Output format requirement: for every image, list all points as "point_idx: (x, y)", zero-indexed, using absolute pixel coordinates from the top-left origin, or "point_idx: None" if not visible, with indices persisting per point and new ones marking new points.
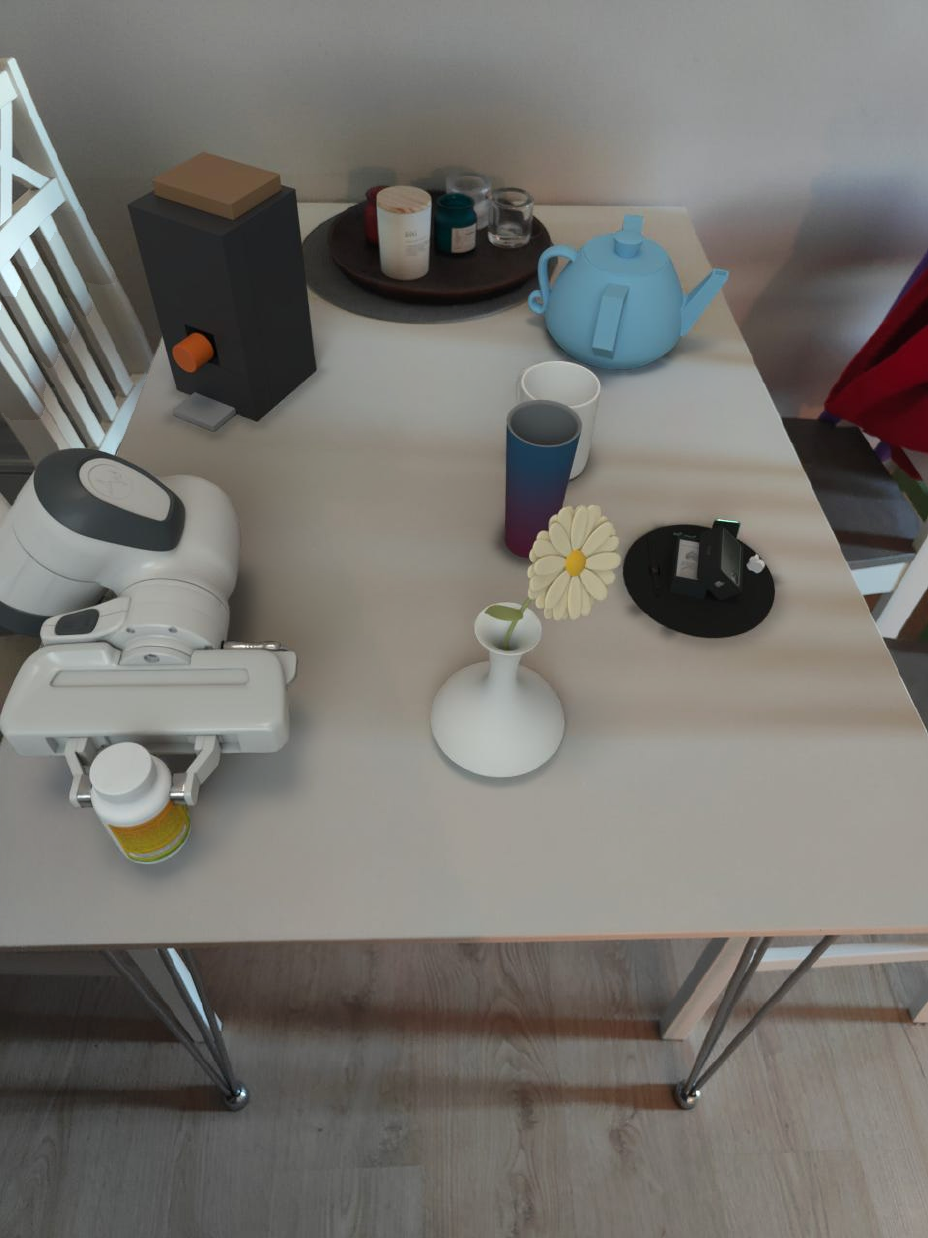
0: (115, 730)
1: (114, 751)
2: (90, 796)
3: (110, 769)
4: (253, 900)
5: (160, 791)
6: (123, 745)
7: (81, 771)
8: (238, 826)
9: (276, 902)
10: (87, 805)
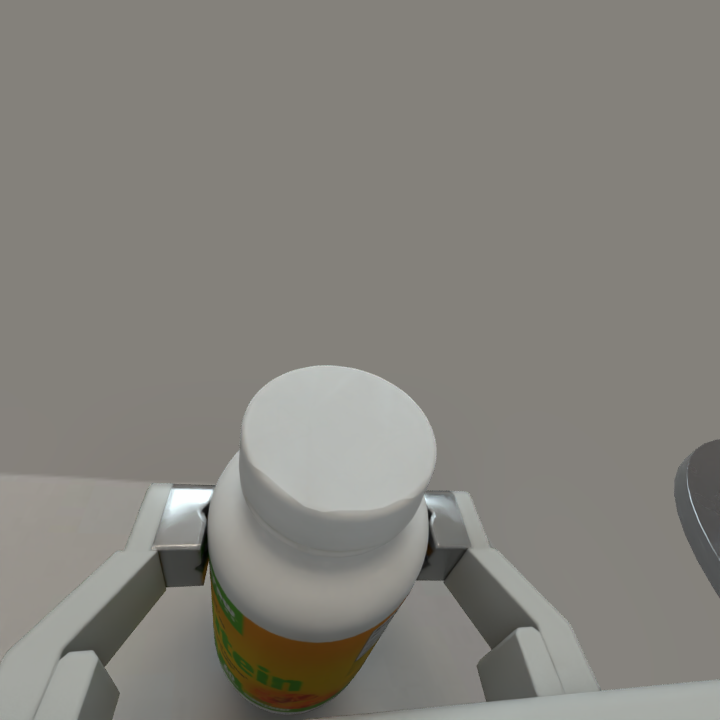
0: (447, 713)
1: (382, 478)
2: None
3: (371, 420)
4: (126, 529)
5: (235, 467)
6: (358, 499)
7: (478, 559)
8: (118, 704)
9: (84, 525)
10: None
